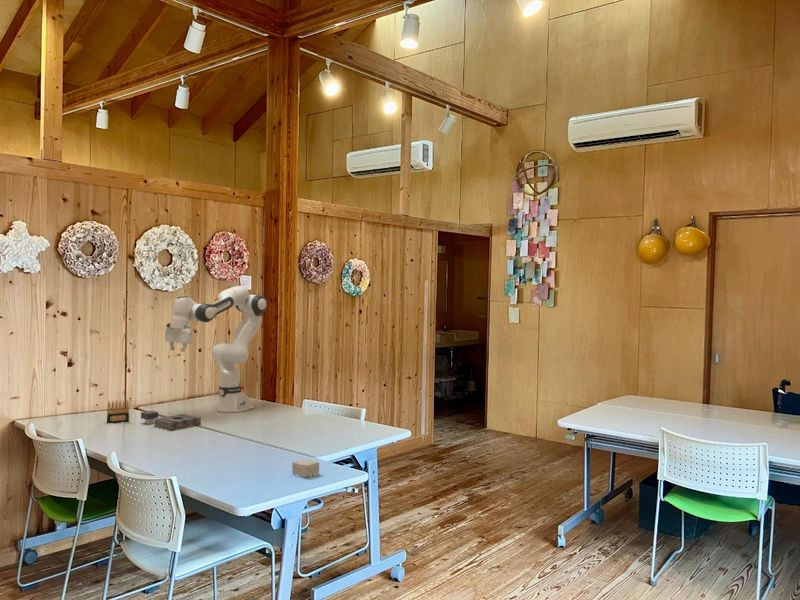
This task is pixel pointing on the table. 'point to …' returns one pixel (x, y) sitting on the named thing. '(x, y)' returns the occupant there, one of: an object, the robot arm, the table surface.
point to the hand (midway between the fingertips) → (177, 350)
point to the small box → (305, 467)
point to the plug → (149, 416)
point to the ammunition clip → (118, 412)
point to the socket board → (177, 422)
